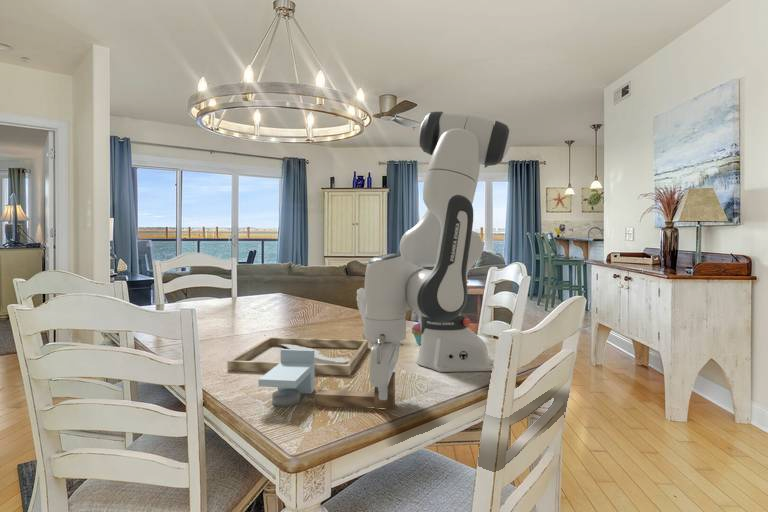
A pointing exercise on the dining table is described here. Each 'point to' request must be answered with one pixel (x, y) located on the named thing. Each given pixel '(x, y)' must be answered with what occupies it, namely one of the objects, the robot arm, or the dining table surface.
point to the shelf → (292, 372)
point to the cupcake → (417, 332)
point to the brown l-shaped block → (356, 397)
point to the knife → (320, 356)
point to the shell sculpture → (361, 303)
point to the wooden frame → (335, 369)
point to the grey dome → (286, 397)
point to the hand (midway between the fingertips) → (385, 394)
